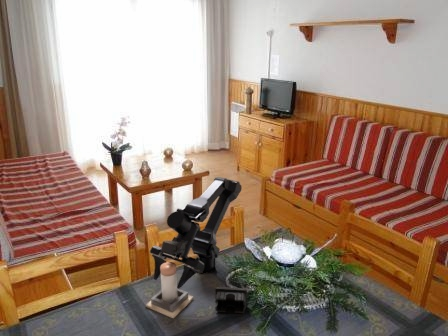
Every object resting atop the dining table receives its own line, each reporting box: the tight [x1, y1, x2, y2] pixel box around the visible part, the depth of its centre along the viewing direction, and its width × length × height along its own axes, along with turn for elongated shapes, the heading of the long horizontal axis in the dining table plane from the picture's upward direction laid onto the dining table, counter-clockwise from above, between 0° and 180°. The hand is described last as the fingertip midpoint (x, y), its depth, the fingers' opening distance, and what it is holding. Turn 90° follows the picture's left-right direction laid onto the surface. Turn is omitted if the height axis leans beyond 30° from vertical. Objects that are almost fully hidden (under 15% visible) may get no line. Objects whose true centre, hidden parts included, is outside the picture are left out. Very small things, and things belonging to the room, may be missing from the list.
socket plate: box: [145, 288, 194, 319], centre depth 124 cm, size 11×11×3 cm
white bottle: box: [160, 261, 178, 305], centre depth 122 cm, size 5×5×13 cm
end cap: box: [214, 286, 248, 317], centre depth 121 cm, size 10×7×7 cm
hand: (166, 284), depth 120 cm, fingers open, 9 cm apart
